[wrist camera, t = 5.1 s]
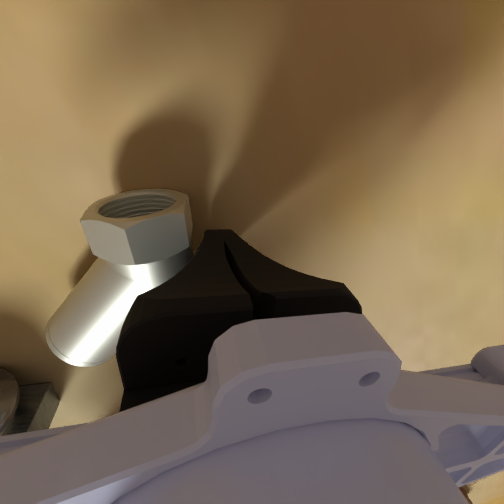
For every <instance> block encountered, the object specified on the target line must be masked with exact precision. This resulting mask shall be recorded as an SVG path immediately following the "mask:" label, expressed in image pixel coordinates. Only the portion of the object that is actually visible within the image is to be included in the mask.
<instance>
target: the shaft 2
mask: <svg viewBox="0 0 504 504" xmlns="http://www.w3.org/2000/svg"><path fill="white" fill-rule="evenodd" d="M59 403H60V401H59V399H58V397H57V395H56V393H55V391H54V389H53V387H52V384H51V383H42V384H34V385H26V386H18V384H17V382H16V381H15V379H14V377H13V375H12V374H11V373H10V372H8V371H7V370H5V369H2V368H0V436H6V435H12V434H19V433H25V432H32V431H38V430H45V429H49V427H50V424H51V422H52V420H53V417H54V415H55V412H56V410H57V408H58V405H59Z"/></svg>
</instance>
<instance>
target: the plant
mask: <svg viewBox="0 0 504 504" xmlns="http://www.w3.org/2000/svg"><path fill="white" fill-rule="evenodd" d="M459 489H460V491H461V492H462V494H463V495H464V497H465V498H466V500H467V501H468V503H469V504H472V502H471V500H470V499H469V497H468V495H467V494H466V492H465V491H464V489H463V488H462V487H459Z"/></svg>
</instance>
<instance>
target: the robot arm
mask: <svg viewBox="0 0 504 504" xmlns="http://www.w3.org/2000/svg"><path fill="white" fill-rule="evenodd" d="M116 358H117V362H118V366H119V371H120V375H121V379H122V383H123V387H124V393H123V398H122V402H121V407H120V412H119V413H116V414H113V415H111V416H108V417H105V418H102V419H99V420H97V421H94V422H90V423H84V424H77V425H71V426H64V427H58V428H51V429H45V430H38V431H32V432H25V433H19V434H12V435H6V436H0V504H469V503H468V501H467V500H466V498H465V497H464V495H463V494H462V492H461V491H460V489H459V487H461V486H464V485H466V484H469V483H471V482H474V481H477V480H479V479H482V478H484V477H487V476H490V475H492V474H495V473H498V472H500V471H503V470H504V345H498V346H491V347H486V348H483V349H482V350H480V351H479V352H478V353H477V354H476V355H475V356H474V357H473V359H472V360H471V364H465V365H459V366H453V367H446V368H440V369H433V370H427V371H420V372H412V371H405V370H400V369H401V364H402V361H401V360H400V359H399V358H398V356H397V355H396V354H395V353H394V351H393V350H392V349H391V348H390V346H389V345H388V344H387V343H386V341H385V340H384V339H383V338H382V336H381V335H380V334H379V333H378V332H377V330H376V329H375V328H374V327H373V325H372V324H371V323H370V322H369V321H368V319H367V318H366V317H365V316H364V315H363V314H362V307H361V305H360V304H359V302H358V300H357V299H356V298H355V296H354V295H353V294H352V293H351V292H350V290H349V289H348V288H347V287H346V286H345V285H344V283H340V282H335V281H331V280H326V279H321V278H317V277H314V276H310V275H307V274H304V273H301V272H298V271H295V270H293V269H290V268H288V267H285V266H283V265H281V264H279V263H277V262H275V261H273V260H271V259H269V258H268V257H266V256H264V255H263V254H261V253H260V252H258V251H257V250H255V249H254V248H253V247H251V246H250V245H249V244H248V243H246V242H245V241H244V240H243V239H241V238H240V237H239V236H238V235H237V234H236V233H234V232H233V231H232V230H206V231H205V232H204V238H203V240H202V243H201V245H200V246H199V248H198V250H197V251H196V253H195V254H194V256H193V257H192V259H191V260H190V261H189V262H188V263H187V265H186V266H185V267H184V268H183V269H182V270H181V271H179V272H178V273H177V274H176V275H175V276H173V277H172V278H170V279H169V280H168V281H166V282H164V283H163V284H161V285H159V286H157V287H155V288H153V289H151V290H149V291H147V292H144V293H142V294H140V295H138V296H137V297H136V299H135V300H134V302H133V304H132V306H131V308H130V310H129V312H128V314H127V316H126V318H125V320H124V323H123V326H122V328H121V332H120V335H119V339H118V343H117V346H116Z"/></svg>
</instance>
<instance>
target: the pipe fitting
mask: <svg viewBox="0 0 504 504" xmlns="http://www.w3.org/2000/svg"><path fill="white" fill-rule="evenodd" d="M80 223H81V225H82V228H83V230H84V233H85V235H86V238H87V241H88V243H89V246H90V248H91V251H92V253H93V255H95V256H97V257H98V258H97V259H96V261H95V262H94V263H93V265H92V266H91V267H90V268H89V270H88V271H87V272H86V273H85V275H84V276H83V277H82V279H81V280H80V281H79V282H78V284H77V285H76V286H75V288H74V289H73V290H72V291H71V293H70V294H69V295H68V296H67V298H66V299H65V300H64V302H63V303H62V304H61V305H60V307H59V308H58V309H57V311H56V312H55V313H54V314H53V316H52V317H51V318H50V320H49V321H48V323H47V326H46V331H45V336H46V341H47V344H48V346H49V348H50V349H51V351H52V352H53V353H54V354H55V355H56V356H57V357H58V358H59V359H61V360H62V361H64V362H66V363H69V364H71V365H75V366H80V367H92V366H97V365H100V364H103V363H105V362H107V361H108V360H110V359H111V358H112V357H113V356H114V355H115V354H116V346H117V343H118V339H119V335H120V332H121V328H122V326H123V323H124V320H125V318H126V316H127V314H128V312H129V310H130V308H131V306H132V304H133V302H134V300H135V299H136V297H137V296H138V295H140V294H142V293H144V292H147V291H149V290H151V289H153V288H155V287H157V286H159V285H161V284H163V283H164V282H166V281H168V280H169V279H170V278H172V277H173V276H175V275H176V274H177V273H178V272H179V271H181V270H182V269H183V268H184V267H185V266H186V265H187V263H188V262H189V261H190V260H191V259H192V257H193V256H194V254H193V248H192V241H191V239H192V230H193V223H192V216H191V209H190V203H189V196H188V195H186V194H184V193H181V192H178V191H175V190H170V189H140V190H132V191H127V192H122V193H118V194H114V195H111V196H108V197H105V198H103V199H100V200H98V201H96V202H95V203H93V204H92V205H90V206H89V207H88V209H87V210H86V211H85V212H84V214H83V216H82V218H81V219H80Z"/></svg>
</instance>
